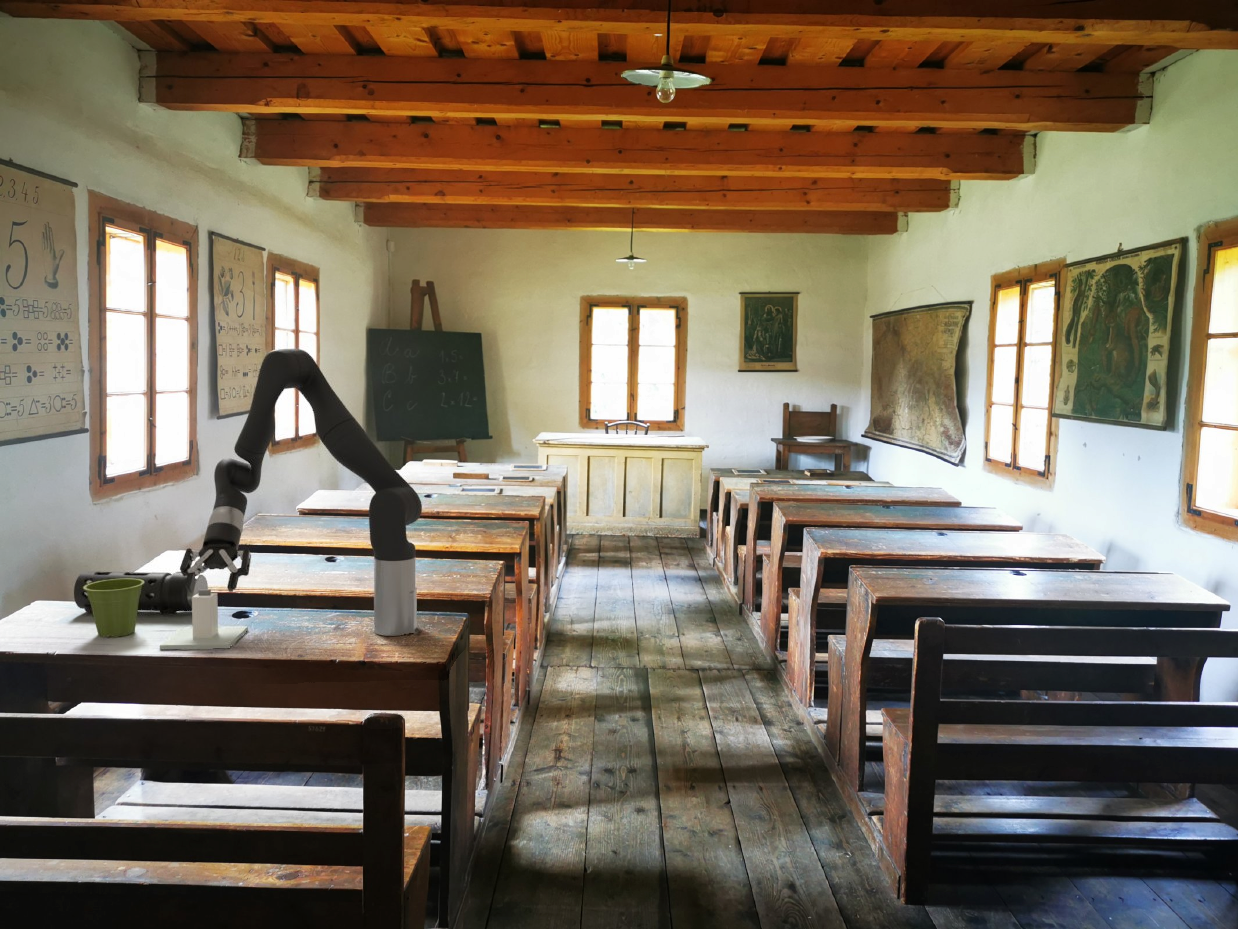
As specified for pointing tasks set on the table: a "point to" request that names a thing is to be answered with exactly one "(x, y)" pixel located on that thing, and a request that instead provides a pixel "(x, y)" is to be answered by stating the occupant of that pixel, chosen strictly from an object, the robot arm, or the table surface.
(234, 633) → the board
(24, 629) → the table surface
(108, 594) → the plant pot
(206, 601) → the plug block
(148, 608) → the muzzle brake
